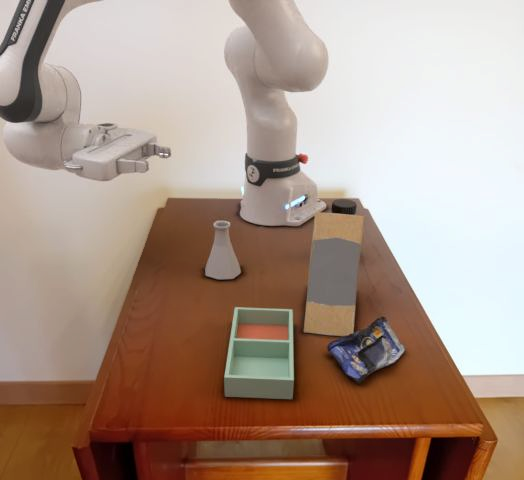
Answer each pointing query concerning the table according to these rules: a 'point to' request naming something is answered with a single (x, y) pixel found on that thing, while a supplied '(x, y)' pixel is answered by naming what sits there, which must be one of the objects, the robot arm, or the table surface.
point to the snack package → (366, 350)
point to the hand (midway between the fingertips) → (158, 159)
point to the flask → (222, 254)
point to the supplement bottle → (344, 206)
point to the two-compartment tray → (260, 354)
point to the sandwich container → (333, 274)
